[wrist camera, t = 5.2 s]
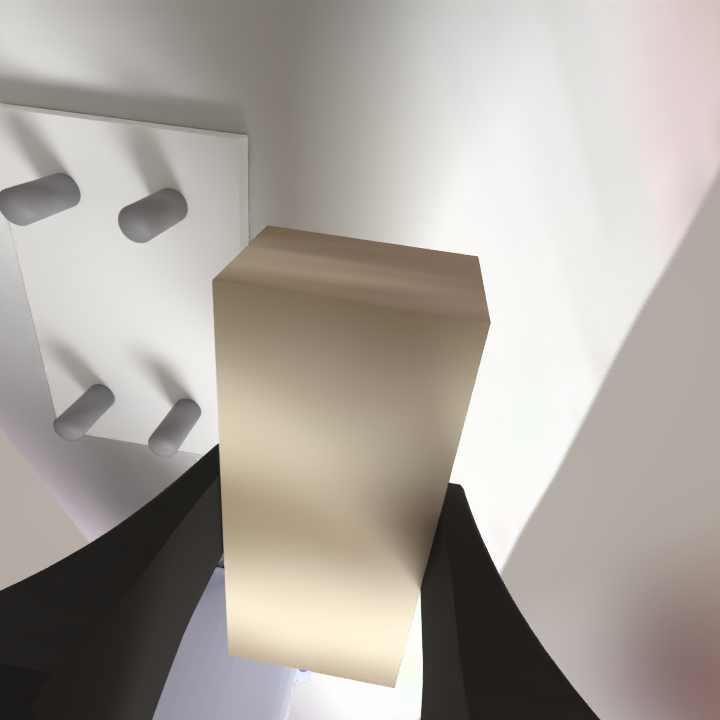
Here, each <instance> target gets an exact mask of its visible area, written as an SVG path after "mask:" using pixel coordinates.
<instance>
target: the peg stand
mask: <svg viewBox="0 0 720 720" xmlns="http://www.w3.org/2000/svg"><path fill="white" fill-rule="evenodd" d="M0 187H1V192H0V210H1V212H2V214H3V215H4V216H5V217H6V218H7V219H8V220H9V224H10V228H11V232H12V237H13V241H14V245H15V249H16V253H17V257H18V261H19V265H20V269H21V274H22V278H23V282H24V286H25V290H26V294H27V298H28V302H29V306H30V311H31V315H32V319H33V323H34V327H35V331H36V335H37V339H38V344H39V348H40V352H41V356H42V360H43V364H44V368H45V372H46V376H47V381H48V385H49V389H50V393H51V397H52V401H53V405H54V409H55V413H56V418H57V419H56V420H55V421H54V429H55V431H56V432H57V434H58V435H59V436H61V437H62V438H64V439H66V440H69V441H77V440H79V439H80V438H81V437H82V436H83V435H90V436H96V437H102V438H108V439H113V440H119V441H125V442H131V443H137V444H143V445H149V447H150V449H151V450H152V451H153V452H154V453H155V454H157V455H159V456H162V457H171V456H173V455H174V454H175V453H176V452H177V450H178V451H184V452H190V453H196V454H201V455H205V454H206V453H207V452H209V451H210V450H211V449H212V448H213V447H214V446H215V445H217V444H218V443H219V430H218V407H217V384H216V361H215V338H214V315H213V291H212V280H213V279H214V278H215V277H216V276H217V275H218V274H219V273H220V272H221V271H222V270H223V269H224V268H225V267H226V266H227V265H228V264H229V263H230V262H231V261H232V260H233V259H234V258H235V257H236V256H237V255H238V254H239V253H240V252H241V251H242V250H243V249H244V248H245V247H246V246H247V245H248V244H249V183H248V135H241V134H234V133H226V132H218V131H211V130H203V129H195V128H188V127H180V126H172V125H165V124H157V123H149V122H142V121H134V120H126V119H119V118H111V117H103V116H96V115H88V114H80V113H73V112H65V111H57V110H50V109H42V108H34V107H27V106H19V105H11V104H4V103H0Z"/></svg>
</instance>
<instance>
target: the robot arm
mask: <svg viewBox="0 0 720 720" xmlns="http://www.w3.org/2000/svg"><path fill="white" fill-rule="evenodd" d="M223 552H224V545H223V522H222V499H221V476H220V453H219V443H218V444H217V445H215V446H214V447H213V448H212V449H211V450H210V451H209V452H207V453H206V454H205V455H204V456H203V457H202V458H201V459H200V460H199V461H198V462H196V463H195V464H194V465H193V466H192V467H191V468H190V469H189V470H187V471H186V472H185V473H184V474H183V475H182V476H180V477H179V478H178V479H177V480H176V481H175V482H173V483H172V484H171V485H170V486H168V487H167V488H166V489H165V490H164V491H162V492H161V493H160V494H159V495H158V496H156V497H155V498H154V499H153V500H151V501H150V502H149V503H147V504H146V505H145V506H143V507H142V508H141V509H139V510H138V511H137V512H135V513H134V514H133V515H131V516H130V517H129V518H127V519H126V520H124V521H123V522H122V523H120V524H119V525H117V526H116V527H114V528H113V529H111V530H110V531H108V532H107V533H105V534H104V535H102V536H101V537H99V538H98V539H96V540H94V541H93V542H91V543H90V544H88V545H86V546H85V547H83V548H81V549H80V550H78V551H76V552H75V553H73V554H71V555H69V556H68V557H66V558H64V559H62V560H61V561H59V562H57V563H55V564H53V565H51V566H50V567H48V568H46V569H44V570H42V571H40V572H38V573H36V574H34V575H32V576H30V577H28V578H26V579H24V580H22V581H20V582H18V583H16V584H14V585H11V586H9V587H7V588H5V589H3V590H1V591H0V720H288V715H289V711H290V707H291V702H292V698H293V694H294V689H295V685H296V681H298V682H304V683H305V682H308V681H309V680H310V676H311V671H306V670H301V669H296V668H291V667H286V666H281V665H276V664H271V663H266V662H261V661H255V660H250V659H245V658H240V657H235V656H230V655H228V637H227V614H226V591H225V569H224V568H219V567H216V566H217V564H218V562H219V560H220V558H221V556H222V554H223ZM421 619H422V648H423V689H422V707H421V720H600V719H599V718H598V717H597V716H596V714H595V713H594V712H593V711H592V710H591V708H590V707H589V706H588V705H587V703H586V702H585V701H584V700H583V699H582V697H581V696H580V695H579V694H578V693H577V691H576V690H575V689H574V688H573V686H572V685H571V684H570V682H569V681H568V680H567V678H566V677H565V676H564V674H563V673H562V672H561V670H560V669H559V668H558V666H557V665H556V664H555V662H554V661H553V660H552V659H551V657H550V656H549V654H548V653H547V652H546V650H545V649H544V647H543V646H542V644H541V643H540V642H539V640H538V639H537V637H536V636H535V634H534V633H533V631H532V630H531V628H530V627H529V625H528V623H527V622H526V620H525V618H524V617H523V615H522V614H521V612H520V611H519V609H518V607H517V606H516V604H515V602H514V600H513V599H512V597H511V595H510V593H509V592H508V590H507V588H506V586H505V584H504V582H503V581H502V579H501V577H500V575H499V573H498V571H497V569H496V567H495V565H494V563H493V561H492V559H491V557H490V555H489V552H488V550H487V548H486V546H485V544H484V542H483V539H482V537H481V535H480V533H479V530H478V528H477V525H476V523H475V520H474V518H473V515H472V513H471V510H470V507H469V504H468V501H467V498H466V495H465V492H464V489H463V488H462V486H461V485H459V484H453V483H448V486H447V490H446V494H445V498H444V502H443V505H442V509H441V513H440V517H439V521H438V524H437V528H436V532H435V536H434V540H433V543H432V547H431V551H430V555H429V559H428V562H427V566H426V570H425V574H424V578H423V581H422V585H421Z"/></svg>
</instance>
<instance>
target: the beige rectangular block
mask: <svg viewBox="0 0 720 720" xmlns="http://www.w3.org/2000/svg"><path fill="white" fill-rule="evenodd" d="M212 291H213V315H214V338H215V361H216V384H217V407H218V430H219V453H220V476H221V499H222V522H223V545H224V568H225V591H226V614H227V637H228V655H230V656H235V657H240V658H245V659H250V660H255V661H261V662H266V663H271V664H276V665H281V666H286V667H291V668H296V669H301V670H306V671H311V672H316V673H321V674H326V675H331V676H336V677H342V678H347V679H352V680H357V681H362V682H367V683H372V684H377V685H382V686H387V687H392V688H395V684H396V680H397V677H398V673H399V669H400V665H401V661H402V658H403V654H404V650H405V646H406V642H407V639H408V635H409V631H410V627H411V623H412V619H413V616H414V612H415V608H416V604H417V600H418V597H419V593H420V589H421V585H422V581H423V578H424V574H425V570H426V566H427V562H428V559H429V555H430V551H431V547H432V543H433V540H434V536H435V532H436V528H437V524H438V521H439V517H440V513H441V509H442V505H443V502H444V498H445V494H446V490H447V486H448V483H449V479H450V475H451V471H452V467H453V464H454V460H455V456H456V452H457V448H458V445H459V441H460V437H461V433H462V429H463V426H464V422H465V418H466V414H467V410H468V407H469V403H470V399H471V395H472V391H473V387H474V384H475V380H476V376H477V372H478V368H479V365H480V361H481V357H482V353H483V349H484V346H485V342H486V338H487V334H488V330H489V327H490V318H489V312H488V307H487V302H486V296H485V291H484V286H483V280H482V275H481V270H480V264H479V259H478V256H471V255H464V254H457V253H451V252H444V251H437V250H430V249H423V248H416V247H409V246H403V245H396V244H389V243H382V242H375V241H368V240H362V239H355V238H348V237H341V236H334V235H327V234H320V233H314V232H307V231H300V230H293V229H286V228H279V227H273V226H267V227H266V228H265V229H264V230H263V231H262V232H260V233H259V234H258V235H257V236H256V237H255V238H254V239H253V240H252V241H251V242H250V243H249V244H248V245H247V246H246V247H245V248H244V249H243V250H242V251H241V252H240V253H239V254H238V255H237V256H236V257H235V258H234V259H233V260H232V261H231V262H230V263H229V264H228V265H227V266H226V267H225V268H224V269H223V270H222V271H221V272H220V273H219V274H218V275H217V276H216V277H215V278H214V279H213V280H212Z"/></svg>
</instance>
